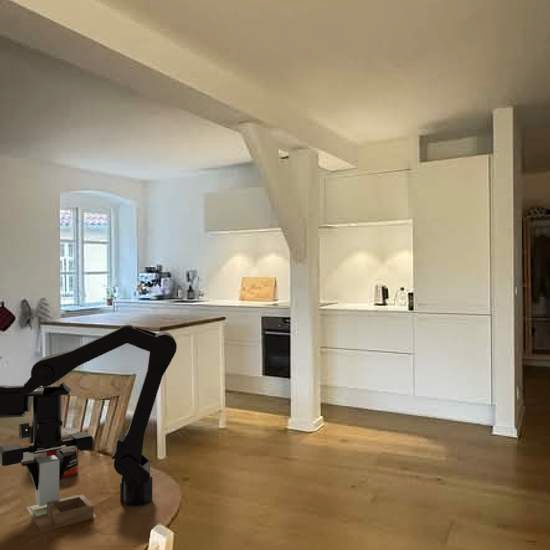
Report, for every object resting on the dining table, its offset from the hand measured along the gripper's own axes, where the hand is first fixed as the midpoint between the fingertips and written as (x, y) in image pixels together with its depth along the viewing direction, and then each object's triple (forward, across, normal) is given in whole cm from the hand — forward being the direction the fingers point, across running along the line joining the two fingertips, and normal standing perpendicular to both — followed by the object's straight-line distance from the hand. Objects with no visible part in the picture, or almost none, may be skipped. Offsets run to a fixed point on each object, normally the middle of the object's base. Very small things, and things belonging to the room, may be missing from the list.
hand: (47, 487), depth 115 cm
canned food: (+6, -9, -22) cm, 25 cm away
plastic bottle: (+6, -8, -38) cm, 39 cm away
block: (+3, 0, 0) cm, 3 cm away
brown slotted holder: (+6, -2, +4) cm, 7 cm away
